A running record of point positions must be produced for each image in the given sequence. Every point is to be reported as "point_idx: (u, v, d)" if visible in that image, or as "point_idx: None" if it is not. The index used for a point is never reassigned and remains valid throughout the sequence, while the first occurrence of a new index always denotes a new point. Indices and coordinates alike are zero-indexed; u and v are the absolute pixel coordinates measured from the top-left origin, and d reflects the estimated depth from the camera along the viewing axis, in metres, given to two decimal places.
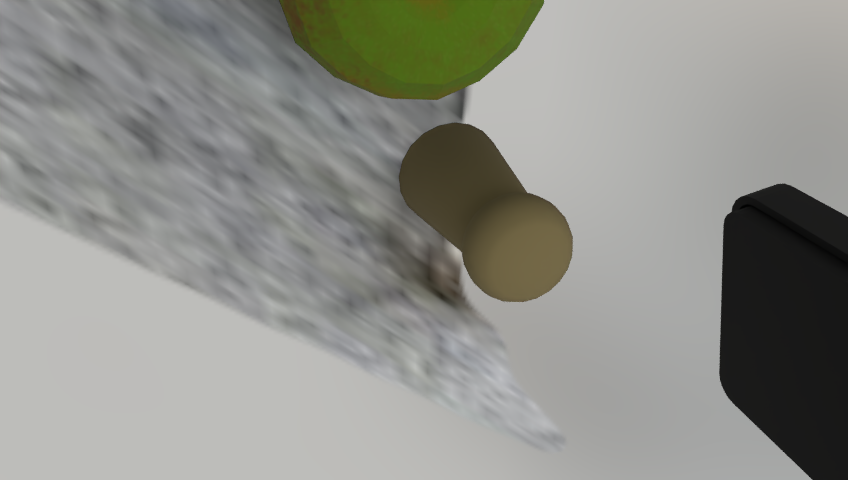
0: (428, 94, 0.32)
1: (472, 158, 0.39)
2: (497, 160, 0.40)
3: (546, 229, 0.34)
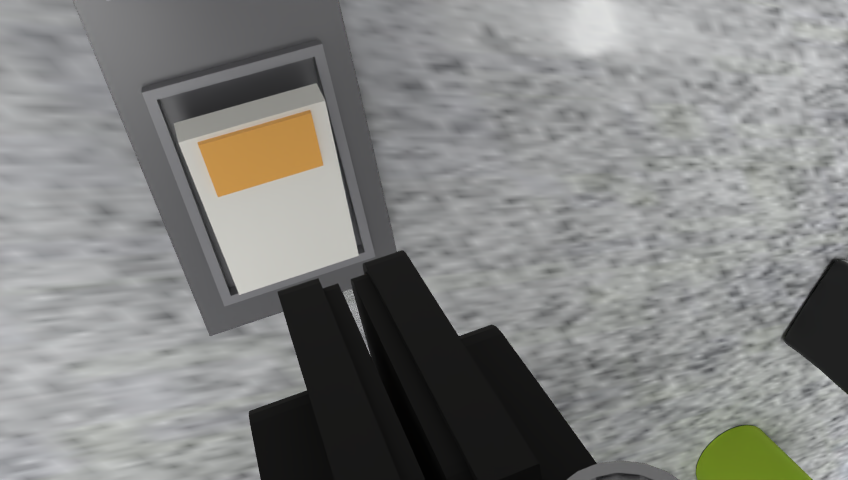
0: None
1: None
2: None
3: None
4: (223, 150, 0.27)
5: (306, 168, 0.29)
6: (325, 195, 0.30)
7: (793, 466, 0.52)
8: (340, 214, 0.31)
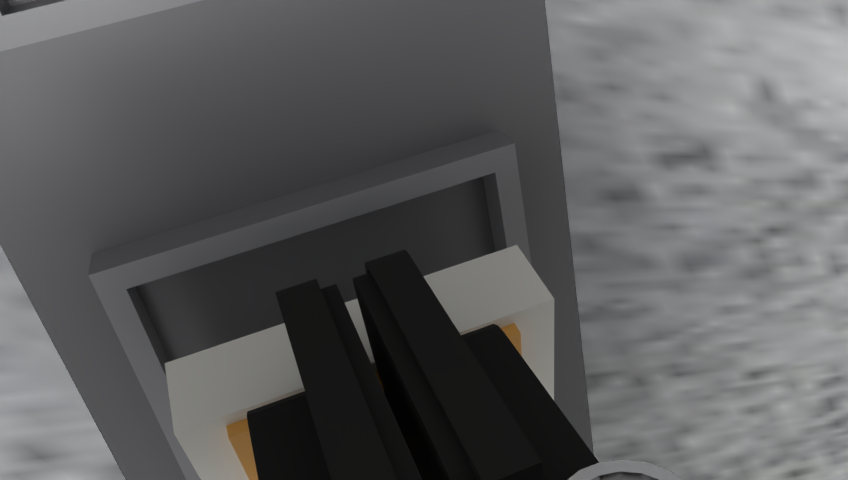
0: None
1: None
2: None
3: None
4: None
5: None
6: None
7: None
8: None
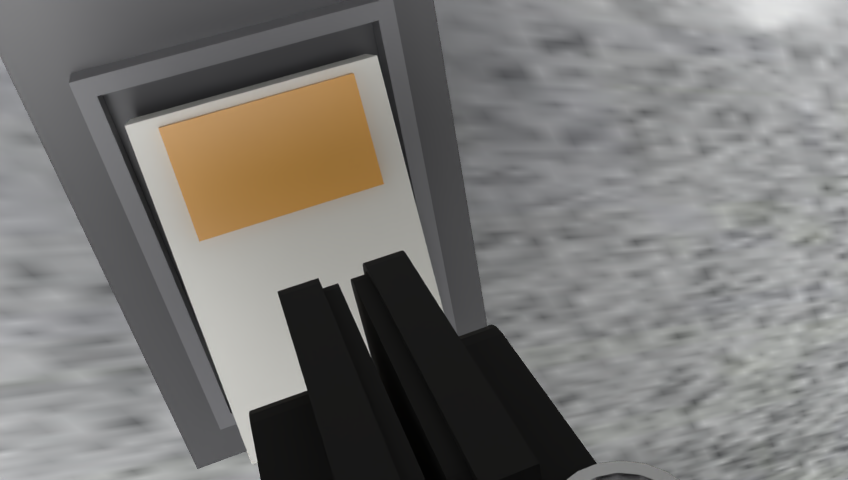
0: None
1: None
2: None
3: None
4: (204, 141, 0.15)
5: (355, 192, 0.16)
6: (393, 252, 0.17)
7: None
8: None
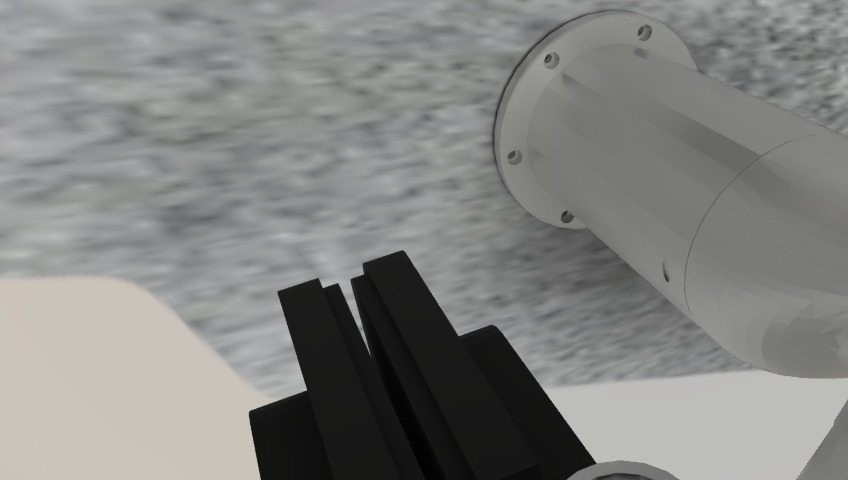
0: None
1: None
2: None
3: None
4: None
5: None
6: None
7: None
8: None
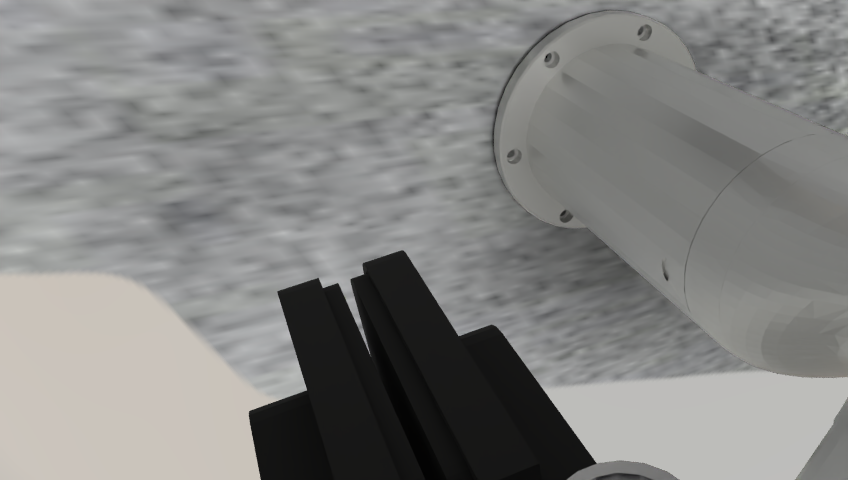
0: None
1: None
2: None
3: None
4: None
5: None
6: None
7: None
8: None
